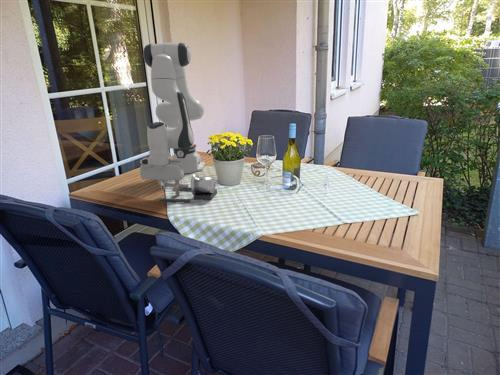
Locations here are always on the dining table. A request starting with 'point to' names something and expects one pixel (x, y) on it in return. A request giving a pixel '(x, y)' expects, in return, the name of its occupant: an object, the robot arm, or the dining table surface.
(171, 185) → the pipe connector
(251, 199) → the dining table surface
